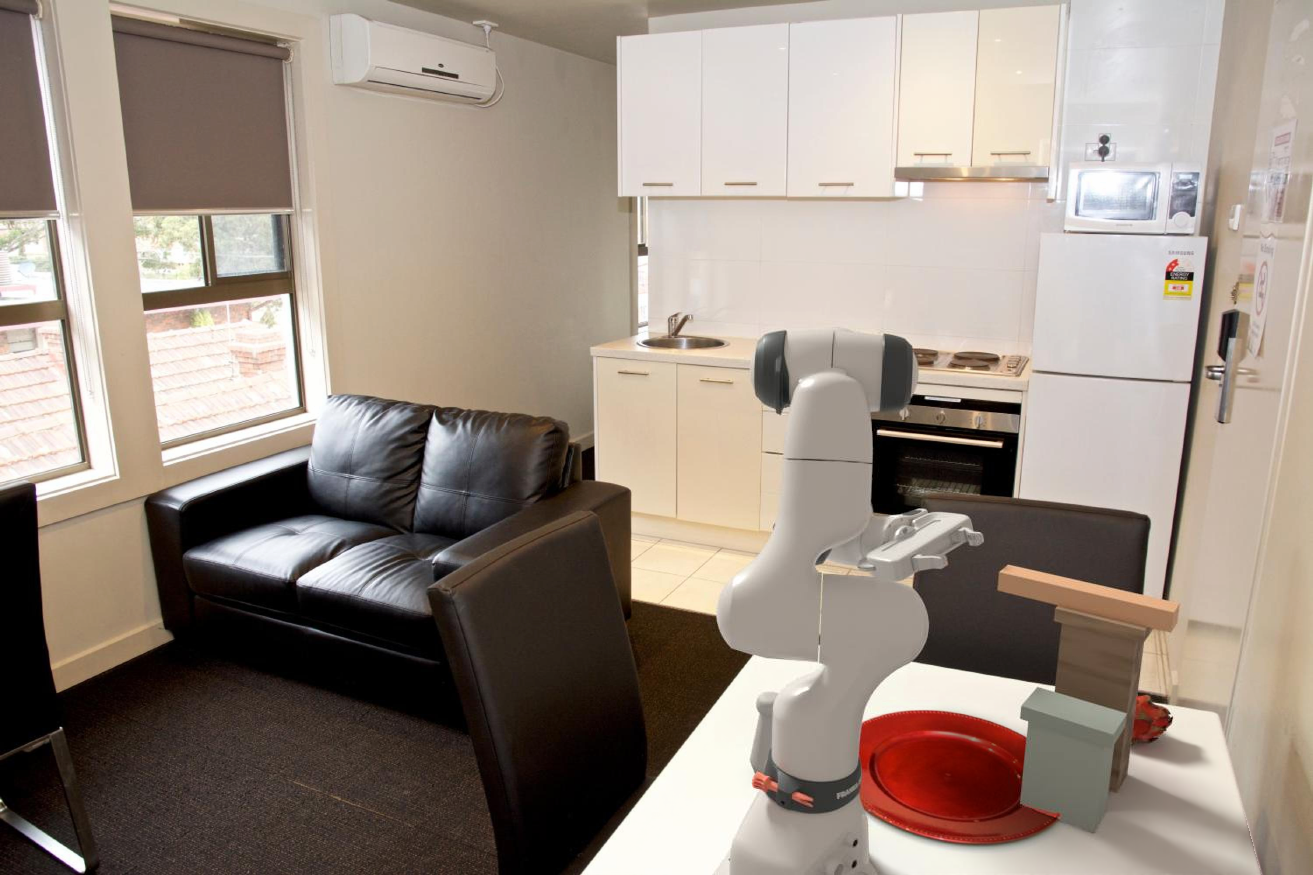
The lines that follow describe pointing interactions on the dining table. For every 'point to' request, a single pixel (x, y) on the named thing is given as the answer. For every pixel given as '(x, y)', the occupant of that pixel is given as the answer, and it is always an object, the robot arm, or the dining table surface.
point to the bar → (1090, 598)
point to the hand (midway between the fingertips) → (963, 550)
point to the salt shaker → (763, 731)
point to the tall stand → (1102, 670)
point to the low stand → (1069, 756)
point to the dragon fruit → (1149, 720)
